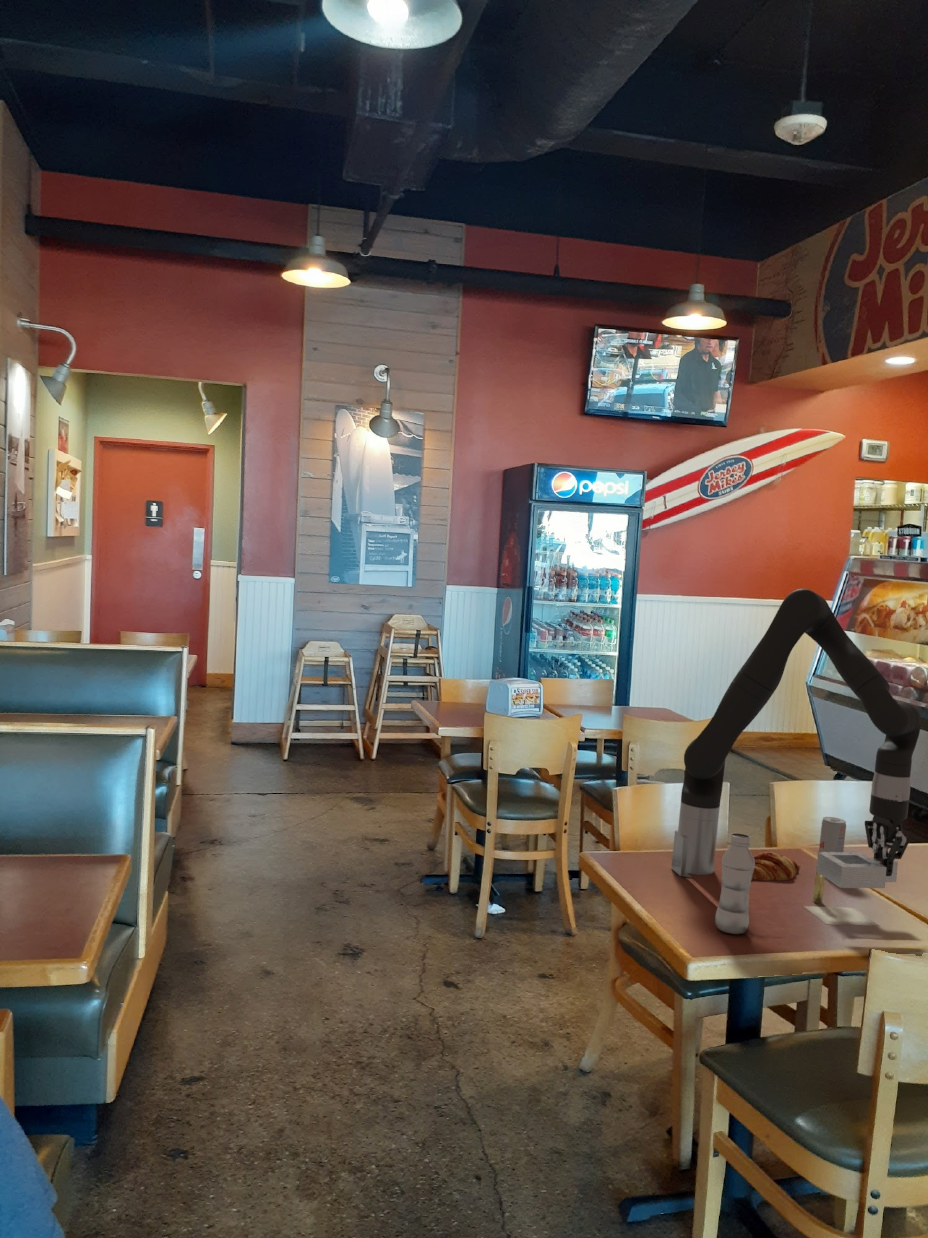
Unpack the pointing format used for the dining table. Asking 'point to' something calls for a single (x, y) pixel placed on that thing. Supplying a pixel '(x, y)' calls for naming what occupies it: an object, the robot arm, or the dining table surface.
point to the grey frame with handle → (854, 870)
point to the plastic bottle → (735, 886)
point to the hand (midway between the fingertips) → (882, 873)
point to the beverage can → (832, 835)
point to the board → (840, 916)
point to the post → (818, 888)
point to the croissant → (774, 867)
